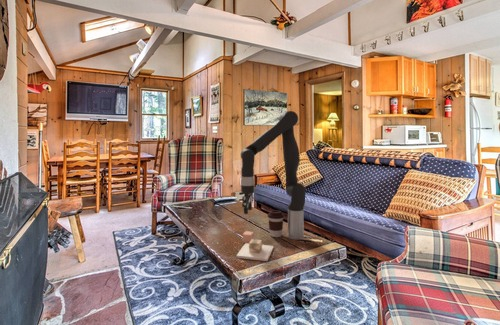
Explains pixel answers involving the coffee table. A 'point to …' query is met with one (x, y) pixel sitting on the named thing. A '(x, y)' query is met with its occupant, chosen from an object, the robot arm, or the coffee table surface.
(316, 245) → the coffee table surface
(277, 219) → the coffee cup
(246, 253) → the base plate
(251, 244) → the maple block
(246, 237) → the terracotta block
